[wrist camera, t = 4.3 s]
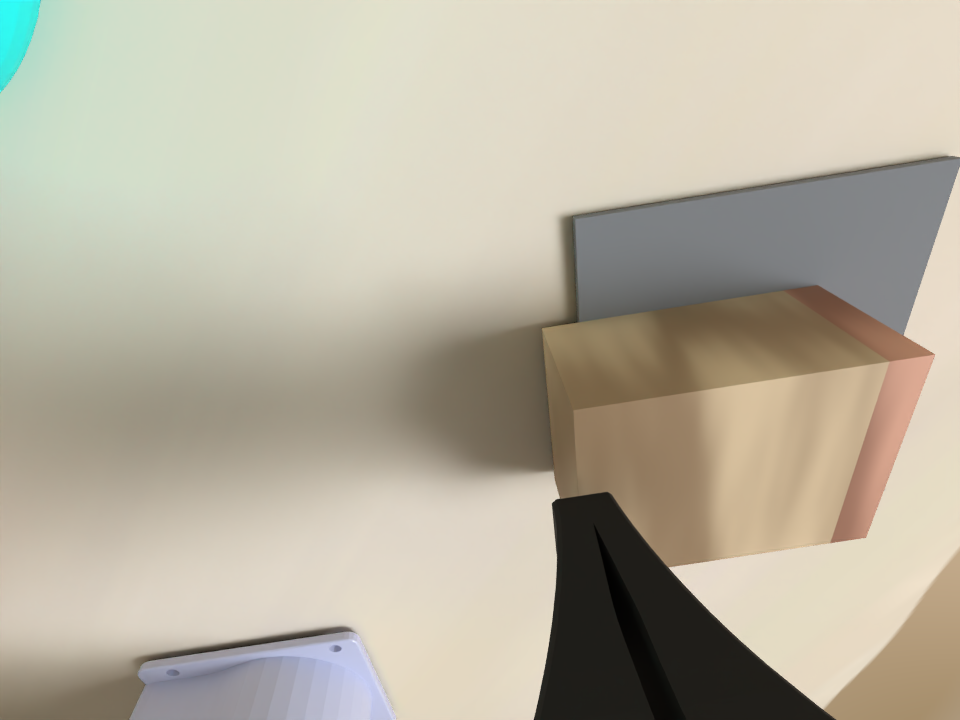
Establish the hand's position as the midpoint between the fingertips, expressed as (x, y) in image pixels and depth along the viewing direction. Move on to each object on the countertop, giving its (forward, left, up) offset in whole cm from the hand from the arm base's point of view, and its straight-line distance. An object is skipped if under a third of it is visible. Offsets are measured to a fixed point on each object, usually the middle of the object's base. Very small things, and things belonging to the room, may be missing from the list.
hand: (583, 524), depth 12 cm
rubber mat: (+6, 0, -5) cm, 8 cm away
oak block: (0, 0, -3) cm, 3 cm away
